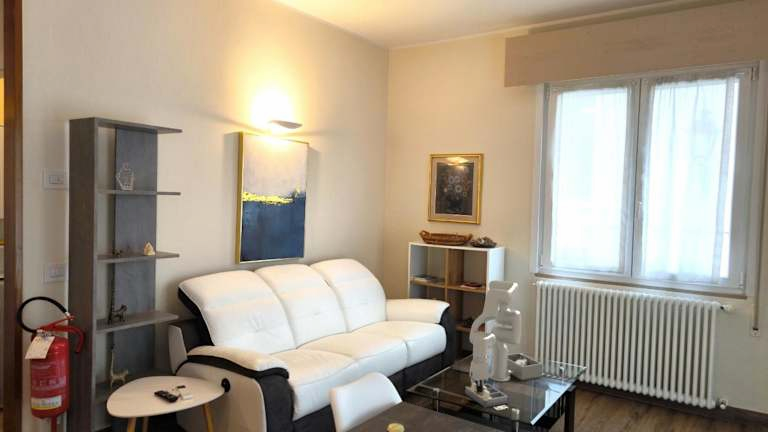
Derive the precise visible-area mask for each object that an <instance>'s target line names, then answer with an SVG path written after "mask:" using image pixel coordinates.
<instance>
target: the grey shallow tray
mask: <svg viewBox="0 0 768 432" xmlns="http://www.w3.org/2000/svg"><path fill="white" fill-rule="evenodd" d="M484 386H485V387H487V391H489V392H490V397H491V399H484V398H483V397H481V396H484V394H483V395H479V392H478V391H472V390H471V389H470V388H472V385H470V386H465V387H464V393H466V394H465V395H467V396H468V397H470V398H471V399H473V400H474V401H475V402H476V403H478V404H479V405H481V406H482V407H484V408H490V407H496V406H501V405H505V404H509V402H510V401H509V400H510V399H509V398H510V396H509V395H507V394H506V393H504V392H502V391H501V390H499V389H497V388H496V387H495V386H493V385H492V384H490V383H488V382H487V383H484Z"/></svg>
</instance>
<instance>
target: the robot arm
mask: <svg viewBox="0 0 768 432" xmlns="http://www.w3.org/2000/svg"><path fill="white" fill-rule="evenodd" d="M518 294H519V284H518V283H517V282H513V281H504V280H497V279H496V280H495V279H494V280H490V282H489V283H488V290H487V292H486V296H485V301H484V306H483V311H482V313H481V314H480V315H479V316H478V317H477V318H476V319H474V321H473V322H472V325H471V329H470V332H469V342H470V343H471V344H472V345H473V347H472V360H471V363H470V366H469V378H470V382H471V384H472V383H476V390H477V391H478V392H479V393H480V392H482V390H483V385H484V384H485V382H486V381H489V379H490V380H492V381H495V382H508V381H510V380H511V375H512V374H514V370H512V371H510V370H508V355H509V349H508V346H507V345H514V346H516V345H519V344H520V343H521V338H522V337H521V336H522V314H521V312H520V311H519V310H516V309H510V305H511V304H513V302H514V301H515V299H516V298H517V296H518ZM493 320H494V322H495V323H496V324H497V325H495V326H493V327H492V328H491V330H490V332H486V331H478V329H479V327H480V326H481V325H482V324H484V323H486V322H489V321H493ZM498 324H499V325H498ZM501 325H504V326H501ZM508 326H509V327H508ZM510 326H511V327H510ZM489 348H491V373H490V367H489V366H490V365H489V361H488V359H489V358H490V357H489V355H488V349H489Z"/></svg>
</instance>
